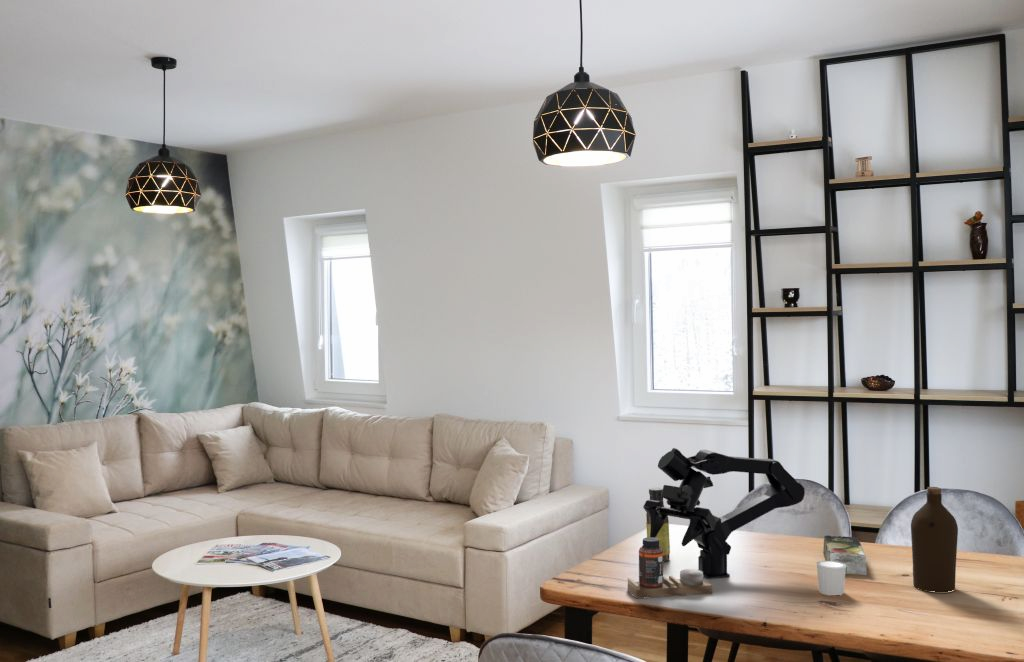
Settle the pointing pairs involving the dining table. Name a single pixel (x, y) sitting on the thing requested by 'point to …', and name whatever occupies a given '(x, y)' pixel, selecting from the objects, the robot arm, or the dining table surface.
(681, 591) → the wooden slotted rack
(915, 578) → the olive oil
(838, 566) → the white cup
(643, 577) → the supplement bottle
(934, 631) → the dining table surface
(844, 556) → the juice carton
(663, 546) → the sauce bottle
